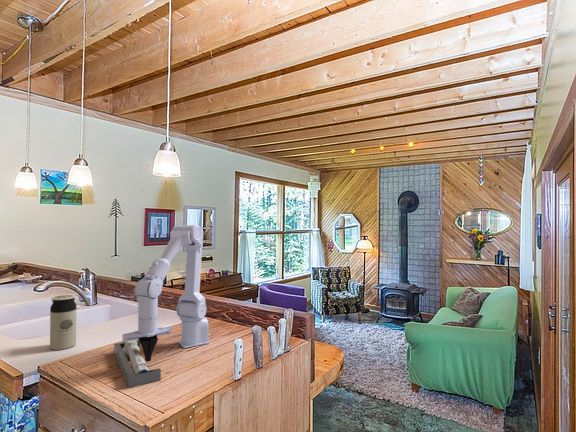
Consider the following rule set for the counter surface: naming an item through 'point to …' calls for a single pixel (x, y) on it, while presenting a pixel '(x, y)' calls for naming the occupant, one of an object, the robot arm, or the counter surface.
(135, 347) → the white handheld device
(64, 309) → the travel mug
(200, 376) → the counter surface
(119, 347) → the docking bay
